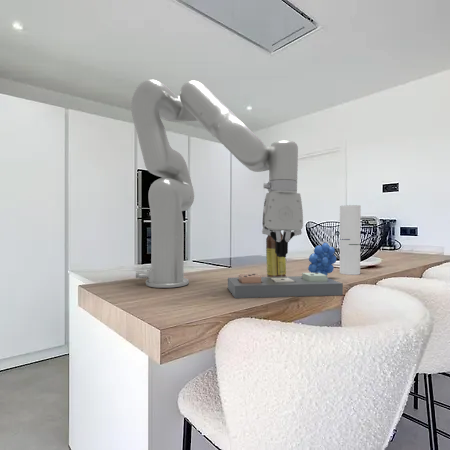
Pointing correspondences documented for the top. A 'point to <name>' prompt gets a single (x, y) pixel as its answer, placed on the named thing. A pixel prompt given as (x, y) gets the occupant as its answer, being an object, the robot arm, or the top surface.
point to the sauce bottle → (274, 259)
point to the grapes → (322, 259)
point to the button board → (284, 288)
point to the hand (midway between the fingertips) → (281, 256)
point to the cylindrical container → (350, 239)
